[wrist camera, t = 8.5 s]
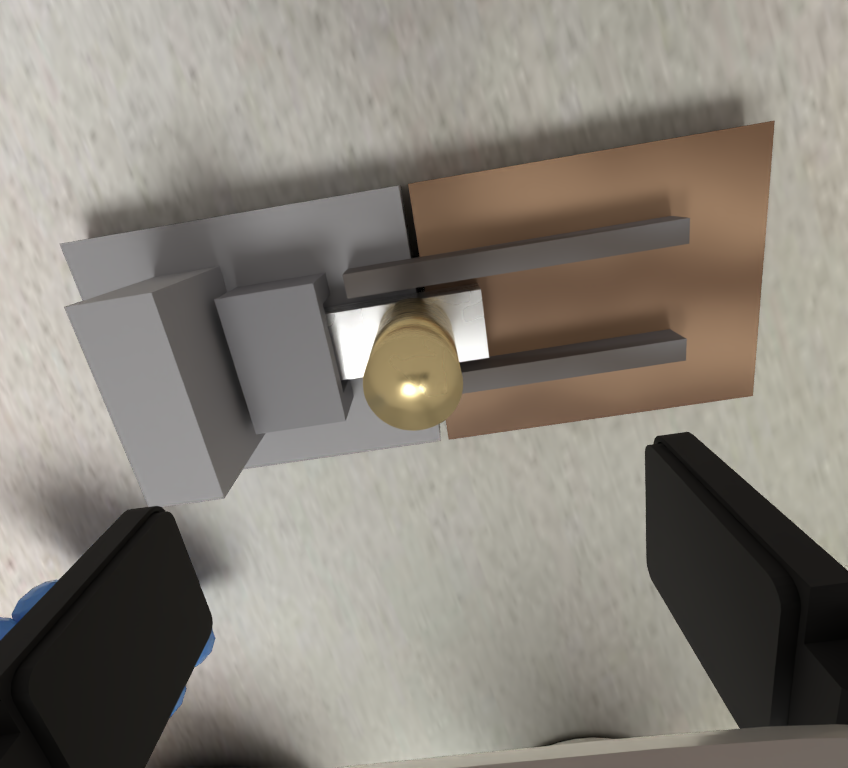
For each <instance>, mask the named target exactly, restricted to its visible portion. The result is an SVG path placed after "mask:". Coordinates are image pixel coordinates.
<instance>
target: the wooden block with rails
mask: <svg viewBox="0 0 848 768" xmlns="http://www.w3.org/2000/svg"><path fill="white" fill-rule="evenodd" d="M774 122H775V121H770V122H764V123H758V124H753V125H747V126H741V127H735V128H729V129H723V130H718V131H712V132H706V133H700V134H694V135H689V136H683V137H677V138H671V139H665V140H660V141H654V142H648V143H642V144H636V145H631V146H625V147H619V148H613V149H607V150H602V151H596V152H590V153H584V154H578V155H573V156H567V157H561V158H555V159H549V160H543V161H538V162H532V163H526V164H520V165H514V166H509V167H503V168H497V169H491V170H485V171H480V172H474V173H468V174H462V175H456V176H451V177H445V178H439V179H433V180H427V181H422V182H416V183H410V184H408V187H409V193H410V199H411V205H412V212H413V218H414V224H415V231H416V237H417V243H418V249H419V256H420V257H417V258H411V259H405V260H399V261H393V262H386V263H380V264H374V265H368V266H362V267H356V268H350V269H347V270H346V271H345V272H344V273H343V274H342V276H343V280H344V285H345V290H346V294H347V299H349V298H355V297H361V296H367V295H374V294H380V293H386V292H392V291H398V290H405V289H411V288H417V287H423V286H424V287H425V291H431V290H438V289H444V288H450V287H456V286H463V285H469V284H475V283H477V284H478V285H479V287H480V289H481V294H482V303H483V311H484V319H485V328H486V336H487V344H488V353H489V358H483V359H477V360H470V361H464V362H459V363H460V368H461V372H462V377H463V391H462V396H461V399H460V401H459V404H458V405H457V407H456V409H455V410H454V412H453V413H452V414H451V415H450V416H449V417H448V418H447V419H446V425H447V431H448V438H449V439H456V438H463V437H470V436H477V435H484V434H491V433H498V432H505V431H512V430H519V429H526V428H533V427H539V426H546V425H553V424H560V423H567V422H574V421H581V420H588V419H595V418H602V417H609V416H616V415H623V414H630V413H637V412H644V411H651V410H658V409H665V408H671V407H678V406H685V405H692V404H699V403H706V402H713V401H720V400H727V399H734V398H741V397H748V396H753V386H754V373H755V360H756V348H757V335H758V323H759V310H760V298H761V285H762V273H763V260H764V248H765V235H766V223H767V210H768V198H769V185H770V172H771V160H772V147H773V135H774Z"/></svg>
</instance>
